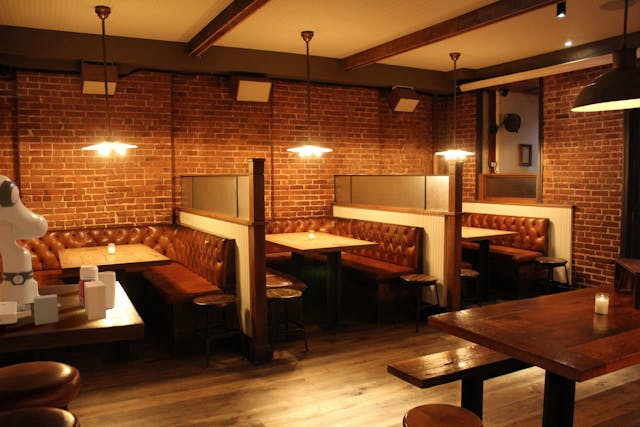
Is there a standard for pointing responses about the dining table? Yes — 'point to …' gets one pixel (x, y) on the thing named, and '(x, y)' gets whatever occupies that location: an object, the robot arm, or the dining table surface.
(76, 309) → the dining table surface
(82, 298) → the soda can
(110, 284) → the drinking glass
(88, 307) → the socket block
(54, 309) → the charger
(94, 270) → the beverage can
